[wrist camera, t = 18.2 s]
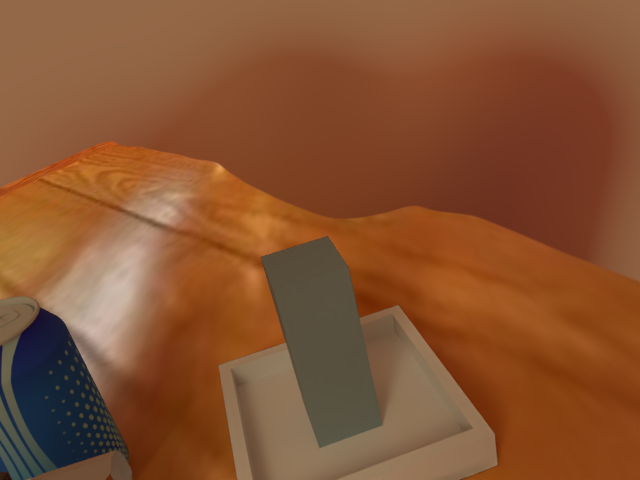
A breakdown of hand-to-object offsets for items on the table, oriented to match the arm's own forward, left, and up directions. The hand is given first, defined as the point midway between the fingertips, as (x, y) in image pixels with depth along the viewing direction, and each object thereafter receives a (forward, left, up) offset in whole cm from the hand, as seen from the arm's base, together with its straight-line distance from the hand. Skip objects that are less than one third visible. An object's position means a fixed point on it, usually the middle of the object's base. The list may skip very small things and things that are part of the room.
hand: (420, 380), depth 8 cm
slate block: (+2, +28, -27) cm, 39 cm away
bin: (+2, +28, -28) cm, 40 cm away
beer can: (-19, +31, -28) cm, 46 cm away
